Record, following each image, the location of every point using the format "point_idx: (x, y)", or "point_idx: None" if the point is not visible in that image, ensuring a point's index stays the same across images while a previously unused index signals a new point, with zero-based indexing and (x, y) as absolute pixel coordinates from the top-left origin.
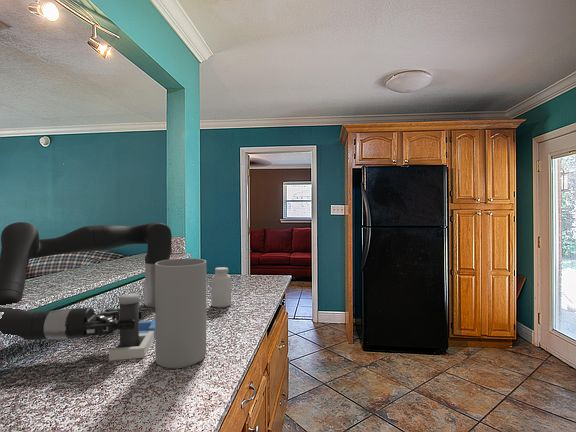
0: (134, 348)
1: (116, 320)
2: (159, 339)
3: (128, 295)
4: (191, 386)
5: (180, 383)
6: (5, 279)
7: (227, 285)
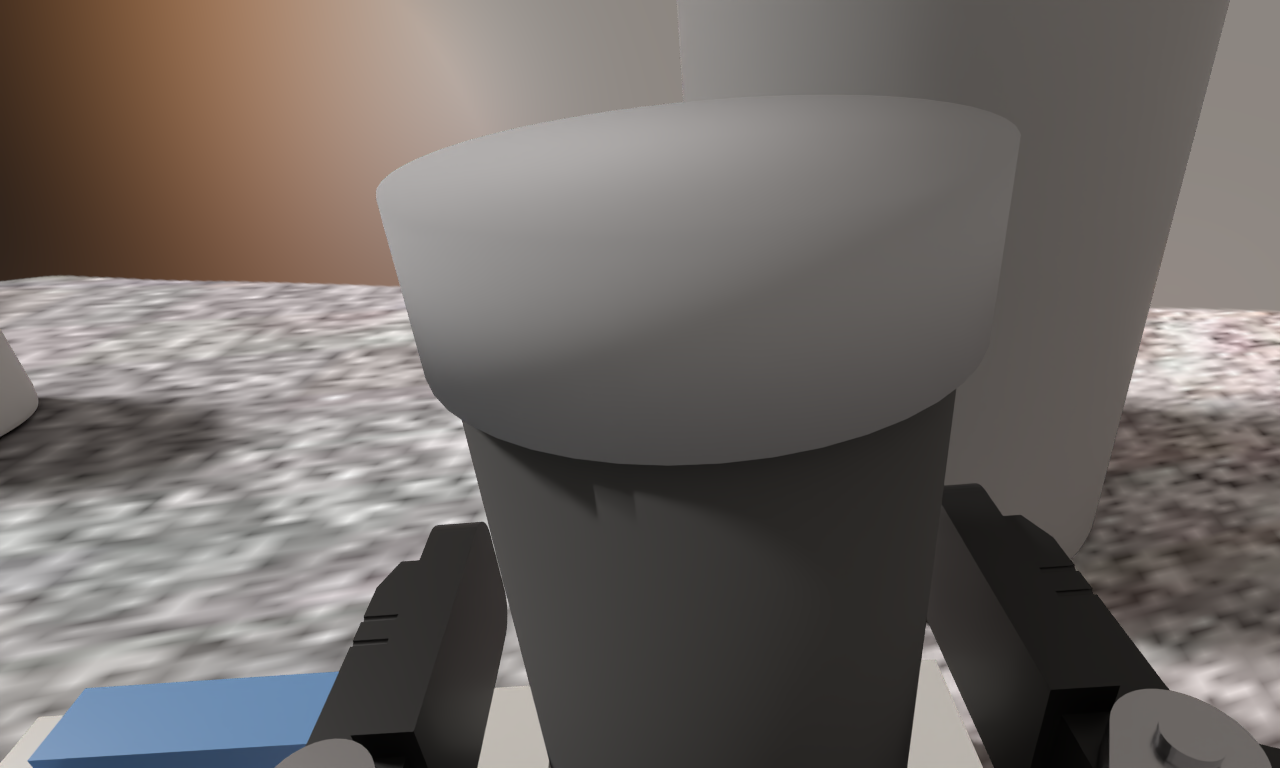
0: (966, 759)
1: (1175, 725)
2: (1130, 361)
3: (588, 163)
4: (1222, 399)
5: (1223, 437)
6: None
7: None
